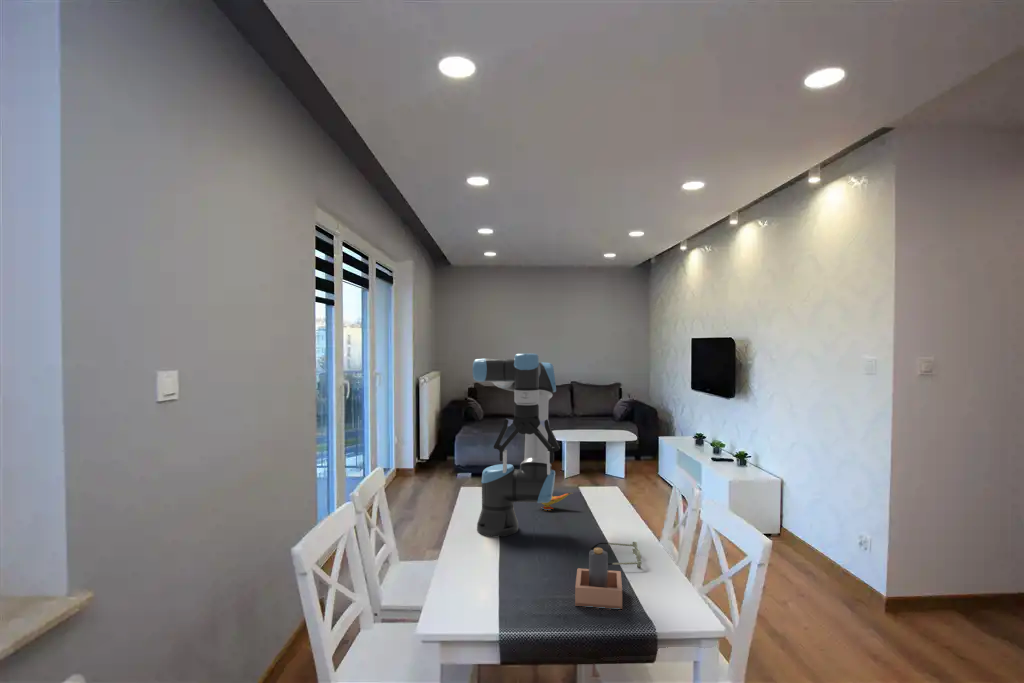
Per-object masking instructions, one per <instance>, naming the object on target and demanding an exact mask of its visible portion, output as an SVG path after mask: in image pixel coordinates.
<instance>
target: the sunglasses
mask: <svg viewBox="0 0 1024 683" xmlns="http://www.w3.org/2000/svg"><path fill="white" fill-rule="evenodd" d="M600 545H609V546H620V547H621V546H622V547H623V546H625V547H633V548H632V549H631V550H632V551H631V552H632V555H633V554H635V555H634V556H636V557H635V558H636V560H637V561H635V562H633V561H631V562H629V561H628V562H608V566H611V565H613V566H614V565H615V566H616V565H619V566H620V565H623V566H624V565H626V566H627V565H636V567H637V568H641V566H642V564H643V562H642V558H641V557H642V555H641V550H640V549H639V547H638V542H637V541H632V543H619V542H618V543H616V542H597V543H596V544H594V545H593V546H592V547H590V548H589V549H593V550H594V548H597V547H598V546H600Z"/></svg>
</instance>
